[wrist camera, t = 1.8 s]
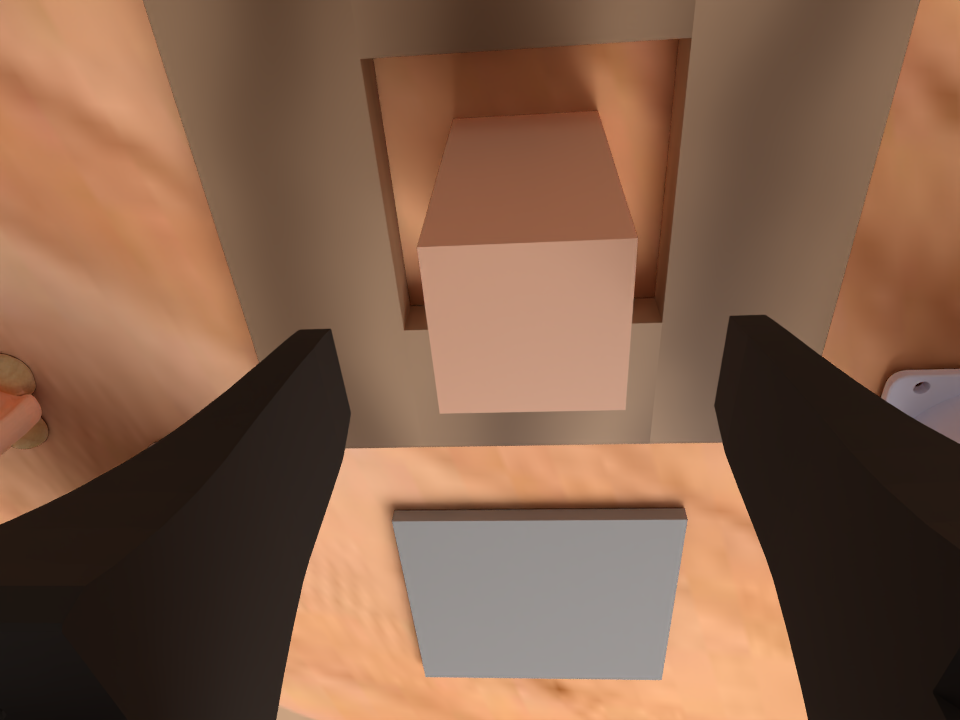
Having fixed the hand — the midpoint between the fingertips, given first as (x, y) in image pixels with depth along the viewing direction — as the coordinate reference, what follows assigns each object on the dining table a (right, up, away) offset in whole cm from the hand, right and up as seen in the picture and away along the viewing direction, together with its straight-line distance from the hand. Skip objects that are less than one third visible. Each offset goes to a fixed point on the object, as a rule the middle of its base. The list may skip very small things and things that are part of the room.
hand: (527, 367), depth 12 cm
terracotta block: (+1, +5, +7) cm, 9 cm away
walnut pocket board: (+1, +5, +7) cm, 9 cm away
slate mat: (+2, -11, +19) cm, 22 cm away
